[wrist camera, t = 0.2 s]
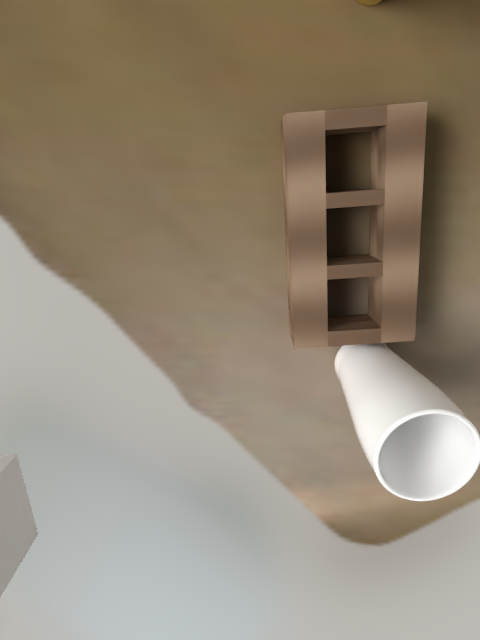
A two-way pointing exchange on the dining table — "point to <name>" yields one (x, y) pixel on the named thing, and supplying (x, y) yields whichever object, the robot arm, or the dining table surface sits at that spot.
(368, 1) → the peg
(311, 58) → the dining table surface
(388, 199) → the hole block
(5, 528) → the robot arm
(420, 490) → the drinking glass
